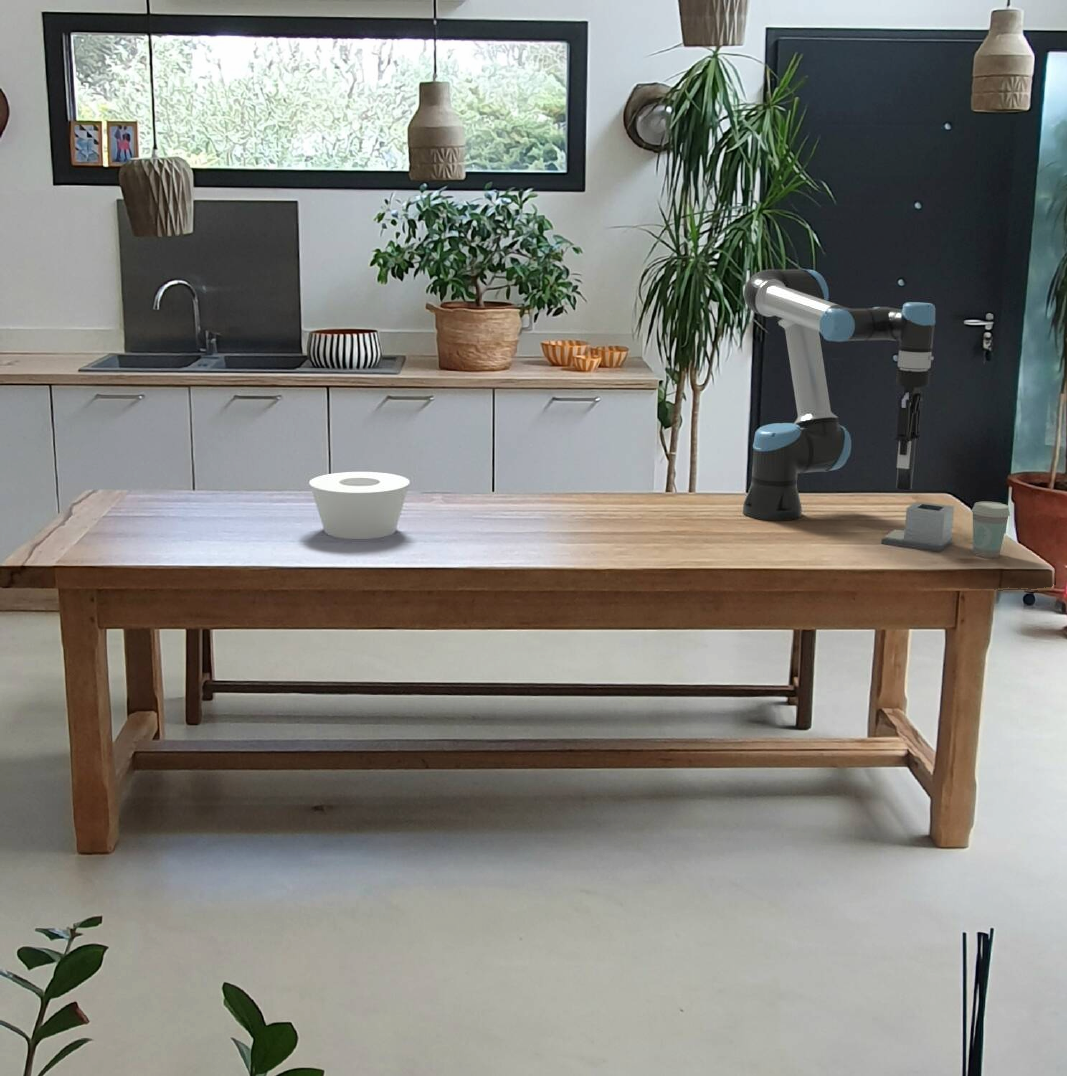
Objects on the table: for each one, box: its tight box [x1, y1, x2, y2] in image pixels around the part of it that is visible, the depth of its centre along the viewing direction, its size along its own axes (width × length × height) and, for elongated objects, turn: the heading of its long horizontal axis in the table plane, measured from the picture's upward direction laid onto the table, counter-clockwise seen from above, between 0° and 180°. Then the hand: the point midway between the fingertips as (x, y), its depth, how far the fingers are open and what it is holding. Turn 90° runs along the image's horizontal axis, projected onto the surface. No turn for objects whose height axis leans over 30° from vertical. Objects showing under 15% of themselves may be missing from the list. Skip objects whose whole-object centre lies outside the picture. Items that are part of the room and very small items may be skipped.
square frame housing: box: [881, 501, 955, 553], centre depth 325 cm, size 14×11×9 cm
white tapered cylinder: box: [308, 471, 411, 540], centre depth 325 cm, size 24×24×12 cm
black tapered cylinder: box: [895, 438, 917, 491], centre depth 323 cm, size 4×4×12 cm
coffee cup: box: [970, 501, 1011, 559], centre depth 315 cm, size 8×9×12 cm
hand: (905, 466), depth 323 cm, fingers closed on black tapered cylinder, 3 cm apart
